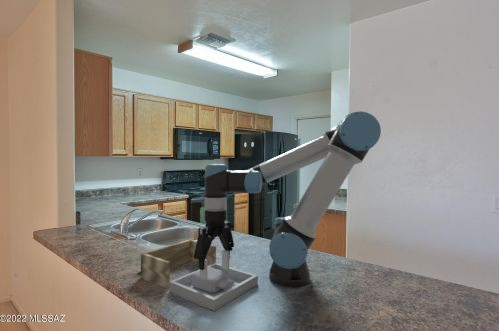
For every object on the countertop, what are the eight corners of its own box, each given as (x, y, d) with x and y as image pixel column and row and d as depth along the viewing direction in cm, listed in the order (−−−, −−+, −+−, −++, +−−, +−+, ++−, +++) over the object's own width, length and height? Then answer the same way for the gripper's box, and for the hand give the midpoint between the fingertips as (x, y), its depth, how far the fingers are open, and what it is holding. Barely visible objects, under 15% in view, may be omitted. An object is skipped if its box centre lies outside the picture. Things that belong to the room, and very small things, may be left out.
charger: (225, 299, 91) (191, 287, 99) (242, 288, 98) (209, 278, 107) (226, 284, 91) (191, 273, 99) (242, 275, 98) (209, 265, 106)
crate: (215, 267, 118) (216, 245, 118) (166, 288, 99) (167, 262, 99) (190, 259, 128) (190, 239, 127) (140, 277, 108) (140, 253, 108)
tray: (257, 285, 102) (257, 275, 102) (214, 311, 84) (214, 300, 84) (215, 271, 114) (215, 262, 114) (169, 292, 96) (169, 281, 96)
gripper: (228, 204, 110) (228, 261, 111) (182, 212, 92) (181, 281, 92) (244, 206, 106) (243, 266, 106) (198, 215, 87) (198, 288, 88)
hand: (215, 273), depth 99 cm, fingers open, 10 cm apart
